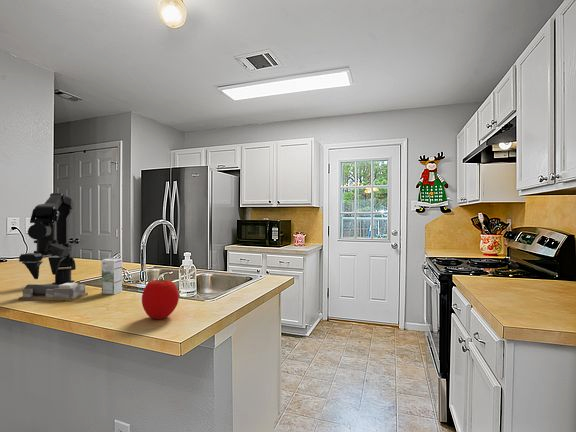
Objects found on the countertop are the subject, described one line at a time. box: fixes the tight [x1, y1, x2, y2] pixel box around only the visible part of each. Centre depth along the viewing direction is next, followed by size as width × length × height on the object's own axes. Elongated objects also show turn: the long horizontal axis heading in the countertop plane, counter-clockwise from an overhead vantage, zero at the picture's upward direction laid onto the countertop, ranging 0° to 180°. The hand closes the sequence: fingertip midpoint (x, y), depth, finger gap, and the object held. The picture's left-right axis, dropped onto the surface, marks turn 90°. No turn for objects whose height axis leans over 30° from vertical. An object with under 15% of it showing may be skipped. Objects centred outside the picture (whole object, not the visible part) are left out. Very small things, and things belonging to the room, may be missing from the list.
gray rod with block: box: [23, 282, 79, 295], centre depth 127 cm, size 18×4×4 cm, turn 89°
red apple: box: [141, 278, 180, 320], centre depth 104 cm, size 11×11×13 cm
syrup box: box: [101, 257, 123, 295], centre depth 135 cm, size 6×6×14 cm
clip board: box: [18, 283, 89, 302], centre depth 127 cm, size 9×21×4 cm, turn 89°
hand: (45, 276), depth 127 cm, fingers open, 9 cm apart
